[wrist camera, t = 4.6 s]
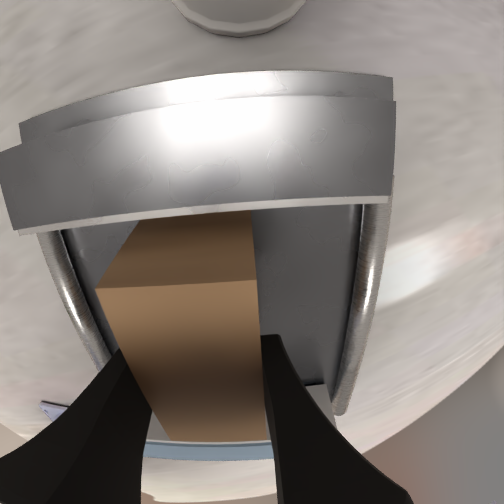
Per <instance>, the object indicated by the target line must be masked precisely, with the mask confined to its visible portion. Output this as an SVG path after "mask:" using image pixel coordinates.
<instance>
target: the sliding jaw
mask: <svg viewBox="0 0 504 504" xmlns="http://www.w3.org/2000/svg"><path fill="white" fill-rule="evenodd" d="M306 389H307V390H308V392H309V393H310V395H311V396H312V398H313V399H314V401H315V402H316V403H317V405H318V406H319V408H320V409H321V410H322V412H323V413H324V414H325V416H326V417H327V418H328V419H329V421H330V422H331V423H332V424H333V425H334V427H335V428H336V429H337V426H336V422H335V418H334V414H333V410H332V406H331V402H330V398H329V394H328V390H327V386H326V384H322V385H314V386H306ZM265 419H266V435H267V440H258V441H237V442H189V441H171V440H170V438H169V437H168V435H167V434H166V432H165V430H164V429H163V427H162V426H161V424H160V422H159V421H158V419H157V417H156V416H155V414H154V412H153V410H152V415H151V420H150V424H149V429H148V433H147V438H146V443H145V448H144V453H143V457H153V458H163V459H177V460H199V461H237V460H259V459H273V458H274V455H273V449H272V443H271V438H270V433H269V427H268V422H267V416H266V411H265Z"/></svg>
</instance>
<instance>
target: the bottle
mask: <svg viewBox="0 0 504 504" xmlns="http://www.w3.org/2000/svg"><path fill="white" fill-rule="evenodd" d="M171 1H172V3H173V4H174V5H175V6H176V7H177V8H178V9H179V11H180V12H181V13H182V14H183V15H184V17H185V18H186V19H187V20H188V21H189V22H191V23H193V24H195V25H197V26H199V27H201V28H203V29H205V30H207V31H209V32H211V33H213V34H220V35H228V36H234V37H243V36H249V35H255V34H262V33H266V32H268V31H270V30H272V29H274V28H276V27H278V26H279V25H281V24H283V23H285V22H287V21H289V20H290V19H291V18H292V17H293V16H294V15H295V14H296V12H297V11H298V10H299V9H300V8H301V7H302V5H303V4H304V3H305V2H306V1H307V0H171Z"/></svg>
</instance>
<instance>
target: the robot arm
mask: <svg viewBox="0 0 504 504" xmlns="http://www.w3.org/2000/svg"><path fill="white" fill-rule="evenodd" d="M260 340H261V356H262V371H263V387H264V403H265V411H266V416H267V422H268V427H269V433H270V438H271V443H272V449H273V455H274V462H275V474H276V486H277V498H278V504H414V503H413V501H412V499H411V497H410V495H409V494H408V492H407V491H406V490H405V489H403V488H402V487H401V486H399V485H398V484H396V483H395V482H394V481H392V480H391V479H390V478H388V477H387V476H385V475H384V474H383V473H382V472H381V471H379V470H378V469H377V468H376V467H375V466H373V465H372V464H371V463H370V462H369V461H368V460H366V459H365V458H364V457H363V456H362V455H361V454H360V453H359V452H358V451H357V450H356V449H355V448H354V447H353V446H352V445H351V444H350V443H349V442H348V441H347V440H346V439H345V438H344V437H343V436H342V434H341V433H340V432H339V431H338V430H337V429H336V428H335V427H334V425H333V424H332V423H331V422H330V421H329V419H328V418H327V417H326V416H325V414H324V413H323V412H322V410H321V409H320V408H319V406H318V405H317V403H316V402H315V401H314V399H313V398H312V396H311V395H310V393H309V392H308V390H307V389H306V387H305V385H304V384H303V382H302V380H301V379H300V377H299V375H298V374H297V372H296V370H295V368H294V366H293V364H292V362H291V360H290V358H289V356H288V354H287V352H286V350H285V347H284V345H283V342H282V339H281V336H280V335H278V334H269V335H260ZM39 406H40V408H41V409H42V410H43V411H44V412H45V414H46V415H47V416H48V417H49V418H50V419H51V420H52V421H53V422H52V423H51V424H50V425H49V426H47V427H46V428H45V429H44V430H42V431H41V432H40V433H39V434H37V435H36V436H35V437H34V438H32V439H31V440H29V441H28V442H26V443H25V444H23V445H22V446H20V447H19V448H17V449H16V450H14V451H12V452H11V453H9V454H7V455H5V456H3V457H1V458H0V503H1V504H141V474H142V460H143V453H144V448H145V443H146V438H147V433H148V429H149V424H150V420H151V415H152V409H151V407H150V405H149V403H148V402H147V400H146V398H145V396H144V394H143V393H142V391H141V389H140V387H139V385H138V383H137V381H136V379H135V378H134V376H133V374H132V372H131V370H130V368H129V366H128V364H127V362H126V360H125V358H124V356H123V353H122V351H121V349H120V347H119V348H118V350H117V351H116V352H115V353H114V355H113V356H112V357H111V358H110V360H109V361H108V362H107V363H106V365H105V366H104V367H103V368H102V370H101V371H100V372H99V373H98V374H97V376H96V377H95V378H94V379H93V381H92V382H91V383H90V384H89V385H88V386H87V388H86V389H85V390H84V391H83V392H82V393H81V394H80V395H79V397H78V398H77V399H76V400H75V401H74V402H73V403H72V404H71V405H70V406H69V407H68V408H67V407H62V406H57V405H52V404H48V403H43V402H41V403H40V404H39ZM489 504H497V503H496V501H492V502H491V503H489Z"/></svg>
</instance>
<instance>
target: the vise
mask: <svg viewBox="0 0 504 504" xmlns="http://www.w3.org/2000/svg"><path fill="white" fill-rule="evenodd" d="M19 128H20V135H21V141H22V144H20V145H18V146H15V147H12V148H10V149H7V150H5V151H2V152H0V184H1V188H2V192H3V196H4V200H5V203H6V207H7V210H8V214H9V217H10V220H11V223H12V226H13V230H18V233H19V236H21V235H27V234H34V233H36V234H37V237H38V240H39V243H40V246H41V249H42V251H43V254H44V257H45V260H46V262H47V265H48V268H49V270H50V273H51V275H52V278H53V280H54V283H55V285H56V287H57V290H58V292H59V294H60V297H61V299H62V301H63V303H64V306H65V308H66V310H67V312H68V314H69V316H70V318H71V321H72V323H73V325H74V327H75V329H76V331H77V333H78V335H79V337H80V338H81V340H82V342H83V344H84V346H85V348H86V350H87V352H88V353H89V355H90V357H91V359H92V361H93V362H94V364H95V366H96V368H97V369H98V371H99V372H100V371H101V370H102V368H103V367H104V366H105V365H106V363H107V362H108V361H109V360H110V358H111V357H112V356H113V355H114V353H115V352H116V351H117V350H118V348H119V345H118V343H117V341H116V338H115V336H114V334H113V332H112V329H111V327H110V325H109V323H108V320H107V318H106V315H105V313H104V311H103V308H102V306H101V303H100V301H99V298H98V296H97V293H96V290H95V288H96V286H97V284H98V283H99V281H100V279H101V278H102V276H103V275H104V273H105V271H106V270H107V268H108V267H109V265H110V264H111V262H112V261H113V259H114V258H115V256H116V254H117V253H118V251H119V250H120V248H121V247H122V245H123V244H124V243H125V241H126V240H127V238H128V237H129V235H130V234H131V232H132V231H133V229H134V228H135V227H136V225H137V224H138V222H139V221H140V220H142V219H151V218H161V217H171V216H181V215H192V214H203V213H215V212H227V211H240V210H251V221H252V233H253V244H254V256H255V268H256V279H257V294H258V309H259V325H260V335H269V334H278V335H280V336H281V339H282V342H283V345H284V347H285V350H286V352H287V354H288V356H289V358H290V360H291V362H292V364H293V366H294V368H295V370H296V372H297V374H298V375H299V377H300V379H301V380H302V382H303V384H304V385H305V387H306V386H314V385H322V384H326V386H327V390H328V394H329V398H330V402H331V406H332V410H333V414H334V415H336V416H341V415H343V414H345V413H346V411H347V408H348V405H349V402H350V399H351V396H352V392H353V389H354V386H355V383H356V379H357V376H358V373H359V369H360V366H361V362H362V358H363V355H364V351H365V347H366V343H367V339H368V335H369V331H370V327H371V323H372V318H373V314H374V309H375V305H376V300H377V295H378V290H379V285H380V280H381V275H382V269H383V263H384V257H385V251H386V245H387V238H388V231H389V223H390V215H391V207H392V197H393V187H394V175H393V169H394V153H395V129H396V101H393V77H386V76H377V75H368V74H358V73H346V72H330V71H256V72H239V73H226V74H216V75H207V76H198V77H191V78H184V79H177V80H171V81H165V82H159V83H154V84H149V85H144V86H139V87H134V88H130V89H125V90H121V91H117V92H113V93H109V94H105V95H101V96H97V97H94V98H90V99H87V100H83V101H80V102H77V103H73V104H70V105H67V106H64V107H61V108H58V109H55V110H52V111H50V112H47V113H44V114H41V115H39V116H36V117H33V118H31V119H28V120H26V121H23V122H21V123H19Z"/></svg>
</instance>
